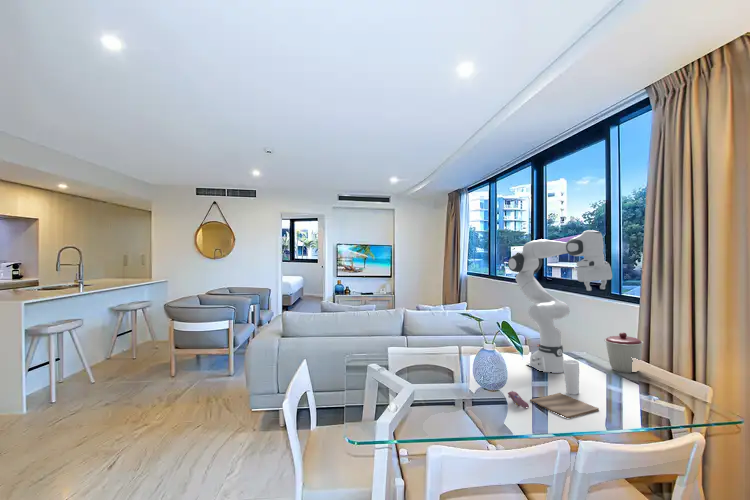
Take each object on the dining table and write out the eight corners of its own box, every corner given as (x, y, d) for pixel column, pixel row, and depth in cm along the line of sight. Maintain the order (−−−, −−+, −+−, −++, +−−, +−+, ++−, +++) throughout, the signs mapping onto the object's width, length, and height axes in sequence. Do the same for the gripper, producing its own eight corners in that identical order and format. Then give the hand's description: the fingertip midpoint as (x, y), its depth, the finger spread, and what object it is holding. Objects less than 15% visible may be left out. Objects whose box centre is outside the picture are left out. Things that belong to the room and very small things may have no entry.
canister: (598, 368, 207) (596, 331, 208) (619, 363, 214) (617, 328, 215) (631, 377, 191) (629, 337, 191) (653, 372, 198) (650, 333, 198)
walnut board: (530, 401, 166) (529, 399, 166) (559, 394, 172) (559, 392, 172) (566, 419, 147) (566, 416, 147) (598, 410, 154) (598, 408, 154)
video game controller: (511, 404, 169) (504, 391, 168) (519, 398, 169) (512, 385, 169) (521, 413, 159) (514, 399, 159) (530, 407, 159) (522, 393, 159)
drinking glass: (582, 396, 170) (580, 363, 170) (567, 395, 171) (565, 363, 172) (577, 390, 177) (576, 359, 177) (562, 390, 178) (561, 359, 178)
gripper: (603, 261, 189) (604, 287, 189) (573, 263, 182) (575, 290, 182) (614, 261, 183) (616, 288, 183) (585, 263, 176) (586, 291, 176)
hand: (595, 289), depth 182 cm, fingers open, 8 cm apart
